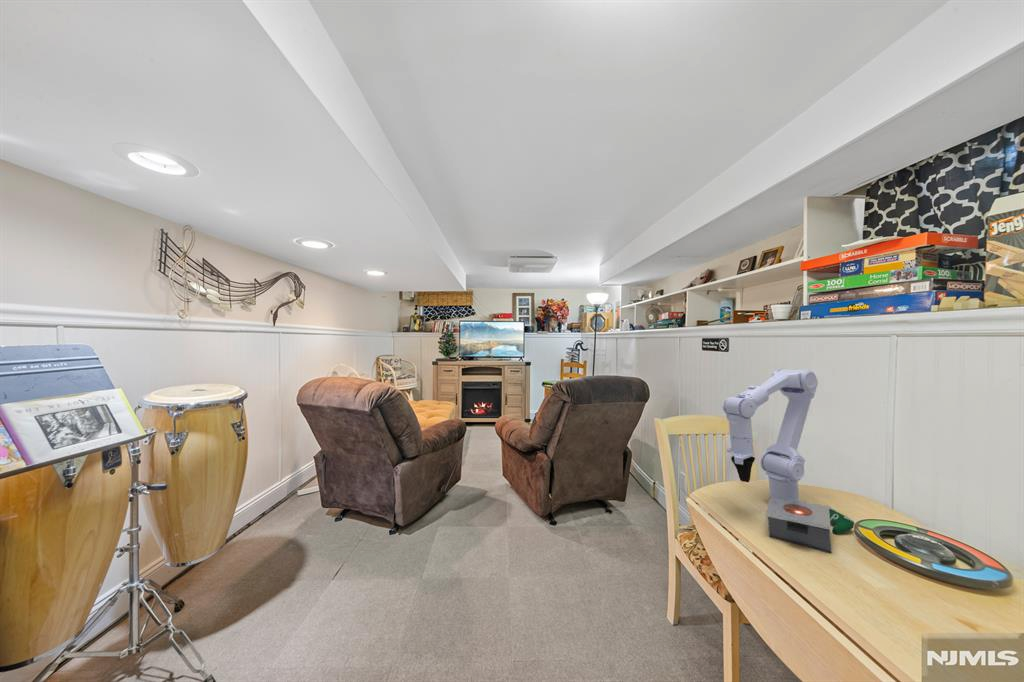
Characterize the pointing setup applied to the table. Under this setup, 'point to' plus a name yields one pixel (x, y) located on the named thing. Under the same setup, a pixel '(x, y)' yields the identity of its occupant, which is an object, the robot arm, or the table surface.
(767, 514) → the lid
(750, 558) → the table surface
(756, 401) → the robot arm
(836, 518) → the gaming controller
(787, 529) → the storage bin
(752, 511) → the table surface
